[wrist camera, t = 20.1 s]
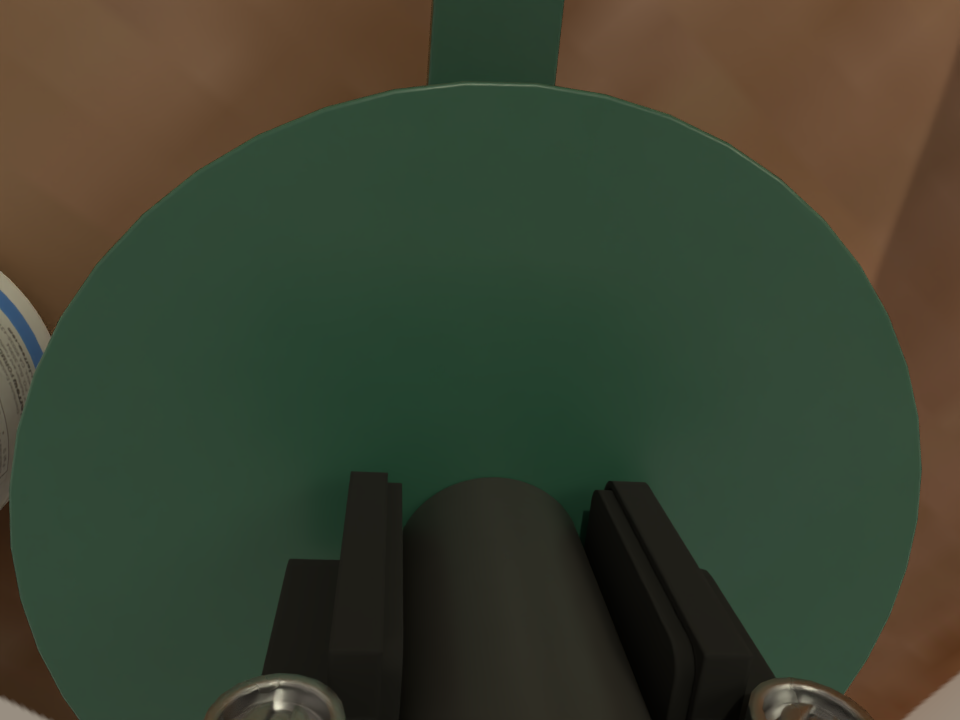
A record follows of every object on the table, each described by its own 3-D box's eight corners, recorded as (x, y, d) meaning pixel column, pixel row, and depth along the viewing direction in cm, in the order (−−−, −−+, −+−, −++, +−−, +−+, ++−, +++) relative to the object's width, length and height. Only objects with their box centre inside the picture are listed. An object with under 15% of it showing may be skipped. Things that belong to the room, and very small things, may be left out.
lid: (981, 126, 12) (1616, 173, 6) (789, 833, 16) (1032, 1301, 10) (-3, 33, 10) (-613, -45, 4) (72, 845, 15) (-171, 1411, 8)
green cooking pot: (682, 18, 24) (856, -20, 15) (599, 557, 29) (686, 767, 20) (236, -30, 22) (124, -104, 13) (240, 548, 28) (163, 770, 19)
